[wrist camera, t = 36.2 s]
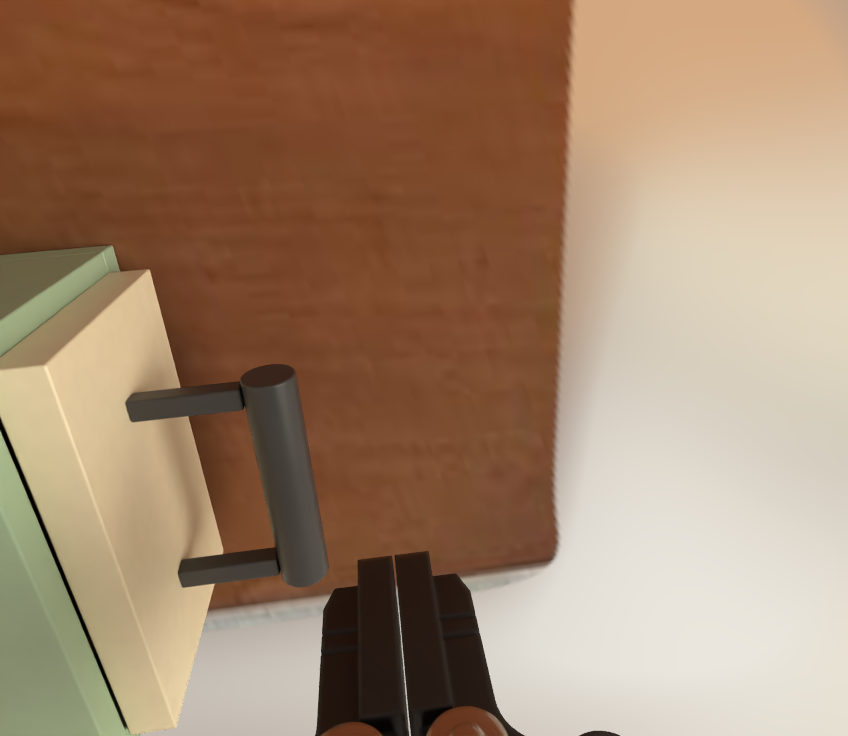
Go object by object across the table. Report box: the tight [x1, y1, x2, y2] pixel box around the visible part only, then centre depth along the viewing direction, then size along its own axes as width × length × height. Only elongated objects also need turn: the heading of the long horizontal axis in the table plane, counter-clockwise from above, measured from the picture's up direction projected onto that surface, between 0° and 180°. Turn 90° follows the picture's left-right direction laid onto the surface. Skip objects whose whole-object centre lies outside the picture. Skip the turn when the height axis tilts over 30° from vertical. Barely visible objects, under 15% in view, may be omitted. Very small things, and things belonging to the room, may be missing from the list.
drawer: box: [0, 269, 329, 735], centre depth 17 cm, size 16×11×7 cm
